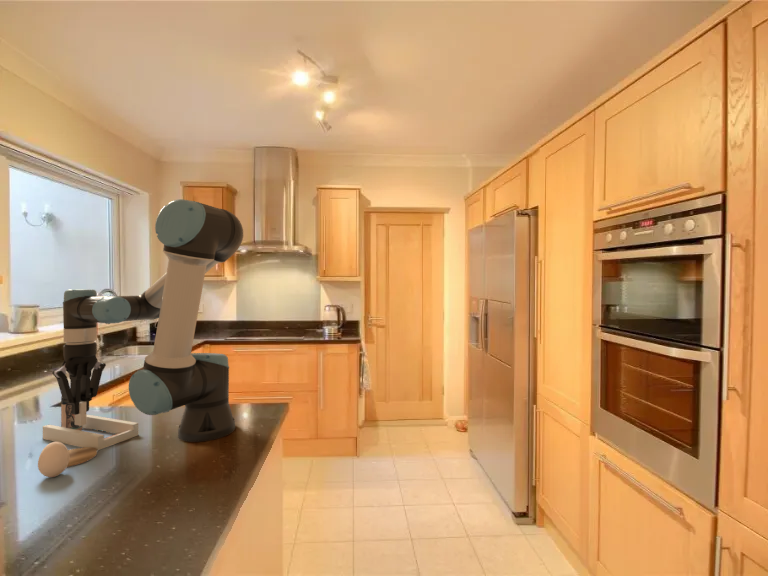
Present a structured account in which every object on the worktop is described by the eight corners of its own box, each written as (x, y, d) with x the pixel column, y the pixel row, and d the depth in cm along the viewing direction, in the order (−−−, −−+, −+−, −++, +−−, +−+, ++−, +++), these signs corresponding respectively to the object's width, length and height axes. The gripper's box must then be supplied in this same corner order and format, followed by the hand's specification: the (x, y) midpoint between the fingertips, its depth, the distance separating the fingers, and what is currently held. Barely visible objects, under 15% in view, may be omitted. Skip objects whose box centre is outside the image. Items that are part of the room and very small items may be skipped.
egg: (43, 484, 81) (42, 449, 81) (34, 478, 84) (34, 443, 84) (73, 474, 86) (73, 440, 86) (64, 468, 88) (64, 435, 88)
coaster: (106, 453, 96) (106, 450, 96) (61, 471, 87) (61, 467, 87) (80, 448, 100) (80, 445, 100) (34, 464, 90) (34, 461, 90)
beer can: (69, 437, 107) (69, 394, 107) (57, 435, 108) (56, 393, 109) (86, 430, 112) (86, 390, 112) (74, 429, 113) (74, 389, 113)
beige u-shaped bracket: (138, 435, 108) (138, 422, 108) (97, 450, 98) (97, 437, 98) (85, 425, 116) (85, 414, 116) (42, 438, 106) (42, 426, 106)
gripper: (95, 339, 116) (95, 415, 116) (45, 345, 104) (45, 430, 104) (112, 340, 114) (112, 418, 114) (62, 346, 101) (63, 434, 101)
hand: (80, 424), depth 109 cm, fingers closed
